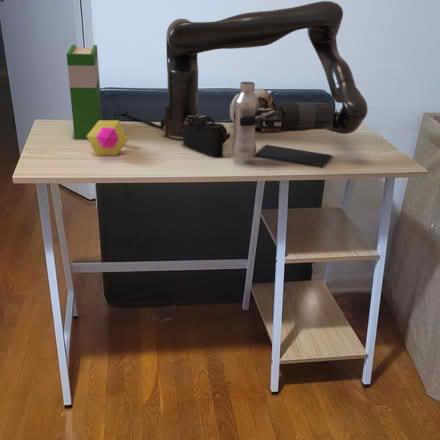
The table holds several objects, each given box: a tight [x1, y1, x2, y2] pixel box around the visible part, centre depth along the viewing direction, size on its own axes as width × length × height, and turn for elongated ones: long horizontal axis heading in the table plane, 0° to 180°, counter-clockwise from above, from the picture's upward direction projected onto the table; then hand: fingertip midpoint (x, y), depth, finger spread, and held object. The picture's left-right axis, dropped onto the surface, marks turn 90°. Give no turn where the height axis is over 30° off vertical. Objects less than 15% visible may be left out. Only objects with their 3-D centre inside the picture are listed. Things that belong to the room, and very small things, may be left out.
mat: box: [254, 144, 332, 168], centre depth 163 cm, size 20×11×1 cm, turn 68°
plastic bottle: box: [231, 81, 259, 160], centre depth 151 cm, size 6×7×20 cm
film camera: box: [180, 113, 231, 158], centre depth 164 cm, size 18×12×10 cm
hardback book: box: [66, 44, 103, 140], centre depth 171 cm, size 18×7×24 cm, turn 7°
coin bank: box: [229, 88, 280, 133], centre depth 186 cm, size 16×17×13 cm
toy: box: [87, 119, 130, 157], centre depth 157 cm, size 10×18×10 cm, turn 11°
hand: (237, 118), depth 150 cm, fingers closed on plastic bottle, 6 cm apart
